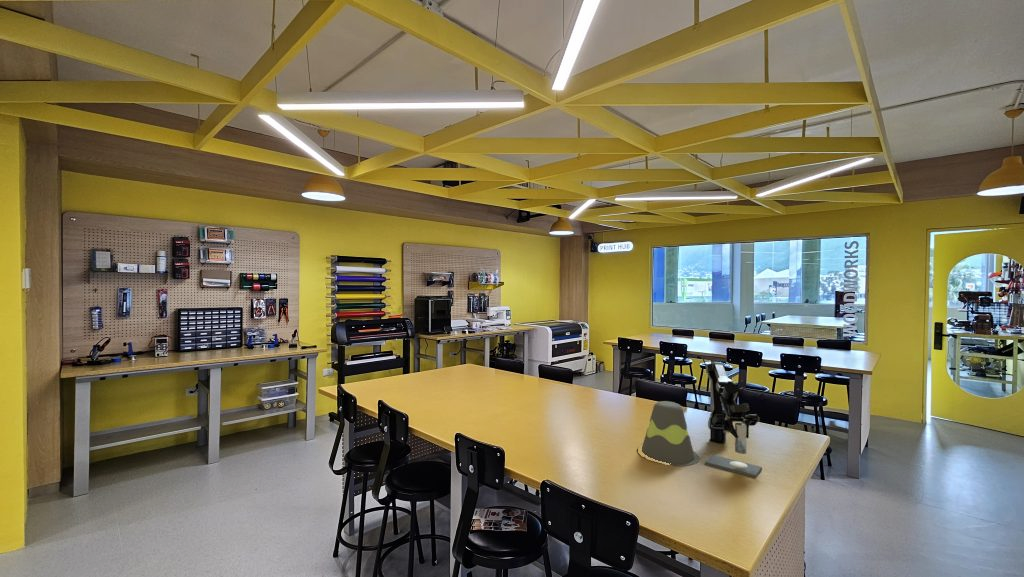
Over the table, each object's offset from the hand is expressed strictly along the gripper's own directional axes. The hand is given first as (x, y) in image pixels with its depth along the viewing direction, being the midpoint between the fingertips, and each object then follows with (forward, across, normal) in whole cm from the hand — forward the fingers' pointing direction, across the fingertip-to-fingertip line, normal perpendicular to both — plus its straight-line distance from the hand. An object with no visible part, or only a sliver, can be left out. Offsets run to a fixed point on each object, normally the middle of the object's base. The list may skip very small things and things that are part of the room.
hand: (742, 437), depth 183 cm
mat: (+8, -3, +11) cm, 14 cm away
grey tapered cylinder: (-2, -27, +21) cm, 34 cm away
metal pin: (+4, 0, +6) cm, 7 cm away
